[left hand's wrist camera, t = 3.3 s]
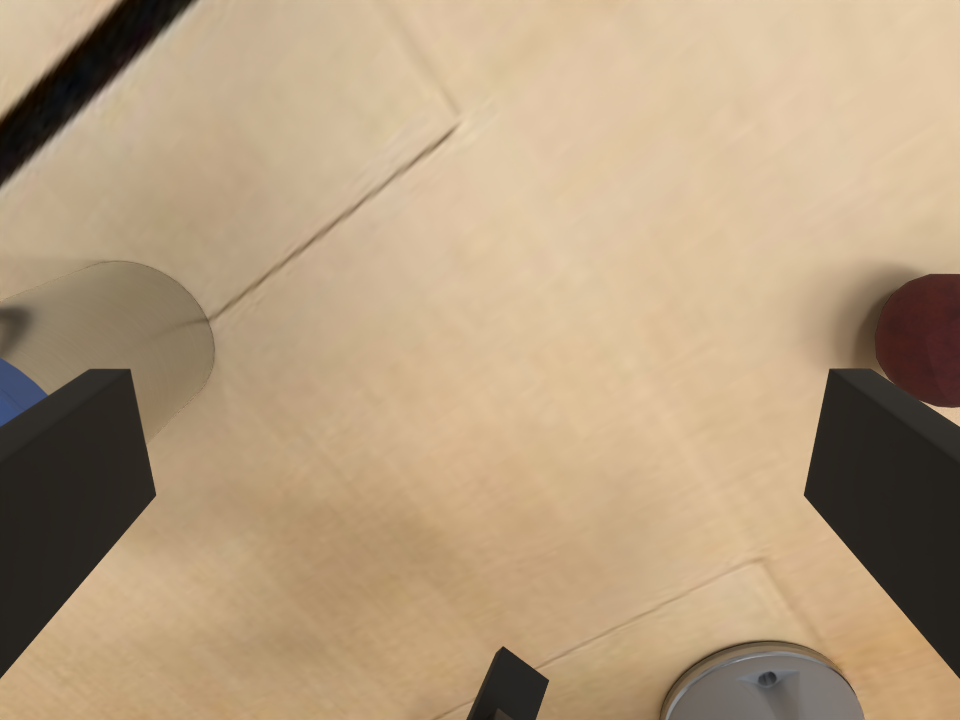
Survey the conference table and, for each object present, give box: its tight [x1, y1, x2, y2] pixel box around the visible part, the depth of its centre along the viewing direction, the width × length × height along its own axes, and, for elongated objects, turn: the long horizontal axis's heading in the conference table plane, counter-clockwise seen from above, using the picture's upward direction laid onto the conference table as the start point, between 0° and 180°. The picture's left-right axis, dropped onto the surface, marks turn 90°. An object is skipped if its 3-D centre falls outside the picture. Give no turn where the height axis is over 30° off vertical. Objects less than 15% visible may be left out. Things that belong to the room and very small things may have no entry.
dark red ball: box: [875, 274, 960, 408], centre depth 37 cm, size 7×8×7 cm
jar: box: [0, 261, 214, 444], centre depth 34 cm, size 10×10×17 cm
